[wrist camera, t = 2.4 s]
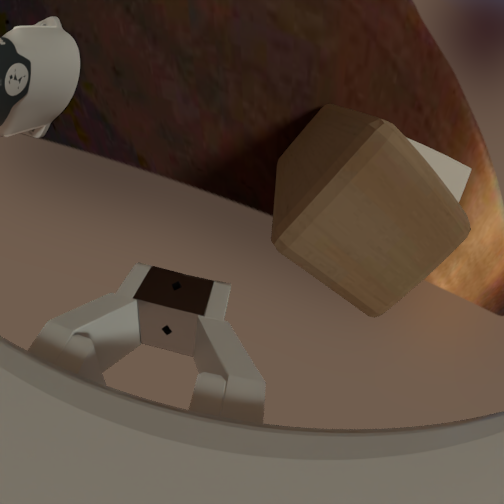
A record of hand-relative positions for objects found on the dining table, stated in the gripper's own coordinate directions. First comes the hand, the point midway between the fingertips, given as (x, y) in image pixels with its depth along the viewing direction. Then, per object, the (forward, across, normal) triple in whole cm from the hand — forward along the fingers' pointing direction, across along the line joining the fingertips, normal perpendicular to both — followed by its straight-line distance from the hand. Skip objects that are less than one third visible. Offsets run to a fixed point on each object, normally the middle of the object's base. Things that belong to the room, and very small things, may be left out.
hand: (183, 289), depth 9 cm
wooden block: (+28, -10, 0) cm, 29 cm away
